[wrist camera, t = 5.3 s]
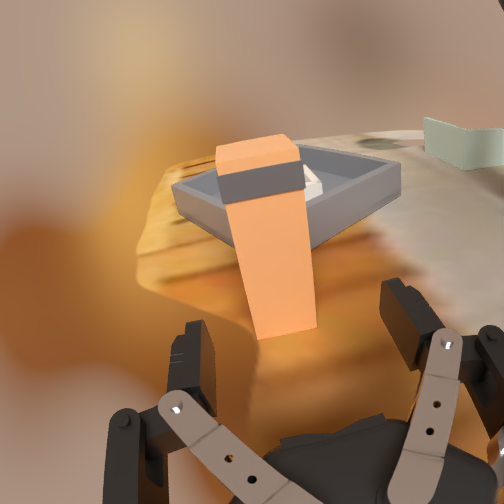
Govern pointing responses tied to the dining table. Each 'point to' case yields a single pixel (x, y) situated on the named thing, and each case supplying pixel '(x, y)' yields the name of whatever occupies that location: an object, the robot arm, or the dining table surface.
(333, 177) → the walled box
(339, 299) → the dining table surface
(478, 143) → the l-shaped corner panel
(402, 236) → the dining table surface
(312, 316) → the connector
